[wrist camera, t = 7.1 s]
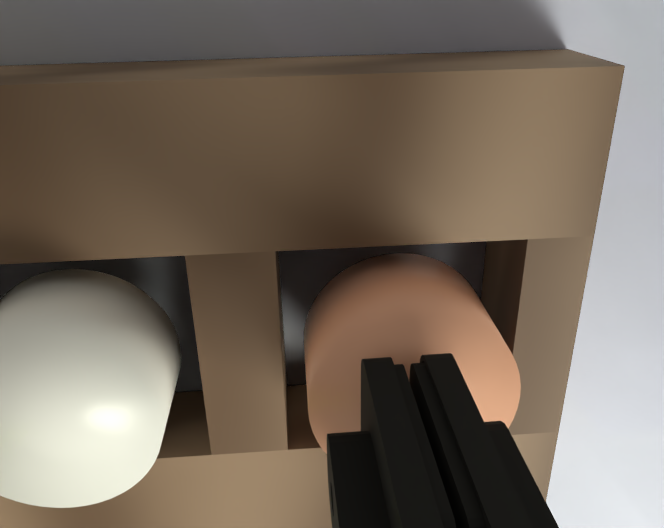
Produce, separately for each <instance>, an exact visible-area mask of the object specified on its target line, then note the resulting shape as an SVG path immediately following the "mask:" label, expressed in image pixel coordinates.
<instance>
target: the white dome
mask: <svg viewBox="0 0 664 528" xmlns="http://www.w3.org/2000/svg"><path fill="white" fill-rule="evenodd" d="M180 367H181V346H180V342H179V338H178V335H177V332H176V330H175V327H174V325H173V324H172V322H171V320H170V318H169V317H168V315H167V314H166V313H165V311H164V310H163V309H162V307H161V306H160V305H159V304H158V303H157V302H156V301H155V300H154V299H153V298H151V297H150V296H149V295H148V294H146V293H145V292H144V291H142V290H141V289H139V288H138V287H136V286H134V285H133V284H131V283H129V282H127V281H125V280H123V279H121V278H118V277H115V276H112V275H109V274H106V273H102V272H97V271H92V270H84V269H63V270H54V271H50V272H45V273H41V274H39V275H36V276H33V277H31V278H29V279H27V280H25V281H23V282H21V283H19V284H18V285H17V286H15V287H14V288H12V289H11V290H10V291H9V292H8V293H7V294H6V295H5V296H4V297H3V298H2V299H1V300H0V496H2V497H5V498H8V499H11V500H14V501H17V502H21V503H25V504H29V505H35V506H41V507H52V508H72V507H80V506H87V505H92V504H96V503H100V502H103V501H106V500H109V499H111V498H114V497H116V496H118V495H120V494H122V493H124V492H125V491H127V490H129V489H130V488H132V487H133V486H134V485H135V484H137V483H138V482H139V481H140V480H141V479H142V478H143V477H144V476H145V475H146V474H147V473H148V472H149V470H150V469H151V467H152V466H153V464H154V463H155V461H156V458H157V456H158V454H159V451H160V447H161V443H162V439H163V435H164V431H165V427H166V423H167V419H168V415H169V411H170V407H171V403H172V399H173V395H174V391H175V387H176V383H177V379H178V375H179V371H180Z"/></svg>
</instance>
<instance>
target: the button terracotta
mask: <svg viewBox="0 0 664 528" xmlns="http://www.w3.org/2000/svg"><path fill="white" fill-rule="evenodd" d="M304 353H305V369H306V385H307V401H308V414H309V422H310V425H311V428H312V432H313V434H314V436H315V438H316V440H317V442H318V443H319V445H320V446H321V448H322V449H323V451H324V452H325V453H326V454H327V434H330V433H343V432H356V431H361V360H362V359H368V358H383V357H391V358H392V360H393V363H394V365H395V364H403V365H404V367H405V370H406V373H407V376H408V379H409V377H410V366H411V364H412V363H420V358H421V356H422V355H428V354H443V353H451V354H452V355H453V356H454V358H455V360H456V362H457V365H458V367H459V369H460V371H461V373H462V375H463V377H464V380H465V382H466V384H467V386H468V388H469V390H470V392H471V395H472V397H473V399H474V401H475V403H476V405H477V408H478V410H479V412H480V414H481V416H482V418H483V420H484V422H490V421H502V422H503V423H505V425H506V426H507V428H509V426H510V425H511V423H512V421H513V419H514V416H515V414H516V411H517V409H518V404H519V400H520V391H521V383H520V374H519V370H518V367H517V363H516V361H515V359H514V357H513V355H512V353H511V351H510V349H509V348H508V346H507V344H506V343H505V341H504V339H503V338H502V336H501V334H500V333H499V331H498V329H497V328H496V326H495V324H494V323H493V321H492V319H491V318H490V316H489V314H488V313H487V311H486V309H485V308H484V306H483V304H482V302H481V301H480V299H479V297H478V296H477V294H476V292H475V291H474V289H473V288H472V286H471V285H470V283H469V282H468V281H467V280H466V279H465V278H464V277H463V276H462V275H461V274H460V273H459V272H457V271H456V270H455V269H454V268H452V267H450V266H449V265H447V264H445V263H444V262H441V261H439V260H436V259H434V258H431V257H427V256H423V255H418V254H411V253H393V254H384V255H380V256H375V257H371V258H368V259H366V260H363V261H360V262H358V263H356V264H354V265H352V266H350V267H348V268H347V269H345V270H343V271H342V272H340V273H339V274H338V275H336V276H335V277H334V278H333V279H332V280H330V281H329V282H328V283H327V284H326V286H325V287H324V288H323V289H322V290H321V291H320V293H319V294H318V296H317V297H316V298H315V300H314V302H313V304H312V306H311V308H310V310H309V312H308V315H307V318H306V322H305V328H304Z"/></svg>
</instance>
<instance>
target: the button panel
mask: <svg viewBox="0 0 664 528" xmlns="http://www.w3.org/2000/svg"><path fill="white" fill-rule="evenodd" d="M624 67H625V66H623V65H620V64H616V63H613V62H610V61H606V60H603V59H599V58H596V57H593V56H589V55H586V54H582V53H579V52H576V51H572V50H569V49H560V50H526V51H491V52H457V53H422V54H388V55H353V56H318V57H284V58H249V59H215V60H180V61H146V62H111V63H77V64H42V65H8V66H0V264H19V263H40V262H61V261H82V260H103V259H124V258H145V257H166V256H185V262H186V269H187V277H188V284H189V291H190V299H191V306H192V314H193V321H194V328H195V336H196V343H197V351H198V358H199V366H200V373H201V380H202V388H203V391H191V392H175V393H174V395H173V399H172V403H171V407H170V411H169V415H168V419H167V423H166V427H165V431H164V435H163V439H162V443H161V447H160V451H159V454H158V456H157V458H156V461H155V463H154V464H153V466H152V467H151V469H150V470H149V472H148V473H147V474H146V475H145V476H144V477H143V478H142V479H141V480H140V481H139V482H138V483H137V484H135V485H134V486H133V487H132V488H130V489H129V490H127V491H125V492H124V493H122V494H120V495H118V496H116V497H114V498H111V499H109V500H106V501H103V502H100V503H96V504H92V505H87V506H80V507H72V508H52V507H41V506H35V505H29V504H25V503H21V502H17V501H14V500H11V499H8V498H5V497H2V496H0V528H332V521H331V511H330V501H329V487H328V470H327V454H326V453H325V452H324V451H323V449H322V448H321V446H320V445H319V443H318V442H317V440H316V438H315V436H314V434H313V432H312V428H311V425H310V422H309V414H308V401H307V385H290V386H287V380H286V363H285V347H284V331H283V314H282V298H281V282H280V265H279V251H292V250H314V249H335V248H356V247H377V246H398V245H419V244H440V243H461V242H482V241H487V242H486V252H485V262H484V272H483V283H482V293H481V302H482V304H483V306H484V308H485V309H486V311H487V313H488V314H489V316H490V318H491V319H492V321H493V323H494V324H495V326H496V328H497V329H498V331H499V333H500V334H501V336H502V338H503V339H504V341H505V343H506V344H507V346H508V348H509V349H510V351H511V353H512V355H513V357H514V359H515V361H516V363H517V367H518V370H519V374H520V383H521V391H520V400H519V404H518V409H517V411H516V414H515V416H514V419H513V421H512V423H511V425H510V426H509V428H508V429H509V431H510V433H511V435H512V437H513V439H514V441H515V443H516V445H517V447H518V449H519V451H520V453H521V455H522V457H523V459H524V461H525V463H526V465H527V466H528V468H529V470H530V472H531V474H532V476H533V478H534V480H535V482H536V484H537V486H538V488H539V490H540V492H541V494H542V496H543V498H544V500H545V502H546V497H547V492H548V486H549V481H550V475H551V470H552V464H553V459H554V453H555V448H556V442H557V437H558V431H559V426H560V420H561V415H562V409H563V404H564V398H565V393H566V387H567V382H568V376H569V371H570V365H571V360H572V354H573V349H574V343H575V338H576V332H577V327H578V321H579V315H580V310H581V304H582V299H583V293H584V288H585V282H586V277H587V271H588V266H589V260H590V255H591V249H592V244H593V238H594V233H595V227H596V222H597V216H598V211H599V205H600V200H601V194H602V189H603V183H604V178H605V172H606V167H607V161H608V156H609V150H610V145H611V139H612V134H613V128H614V123H615V117H616V112H617V106H618V101H619V95H620V90H621V84H622V78H623V73H624Z"/></svg>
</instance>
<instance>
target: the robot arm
mask: <svg viewBox="0 0 664 528" xmlns="http://www.w3.org/2000/svg"><path fill="white" fill-rule="evenodd" d="M327 470H328V487H329V501H330V511H331V521H332V528H559V527H558V525H557V523H556V521H555V519H554V517H553V515H552V513H551V512H550V510H549V508H548V506H547V504H546V502H545V500H544V498H543V496H542V494H541V492H540V490H539V488H538V486H537V484H536V482H535V480H534V478H533V476H532V474H531V472H530V470H529V468H528V466H527V465H526V463H525V461H524V459H523V457H522V455H521V453H520V451H519V449H518V447H517V445H516V443H515V441H514V439H513V437H512V435H511V433H510V431H509V429H508V428H507V426H506V425H505V423H503V422H502V421H490V422H484V420H483V418H482V416H481V414H480V412H479V410H478V408H477V405H476V403H475V401H474V399H473V397H472V395H471V392H470V390H469V388H468V386H467V384H466V382H465V380H464V377H463V375H462V373H461V371H460V369H459V367H458V365H457V362H456V360H455V358H454V356H453V355H452V354H451V353H443V354H428V355H422V356H421V358H420V363H412V364H411V366H410V377H409V379H408V376H407V373H406V370H405V367H404V365H403V364H395V365H394V363H393V360H392V358H391V357H383V358H368V359H362V360H361V431H356V432H343V433H330V434H327Z"/></svg>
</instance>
